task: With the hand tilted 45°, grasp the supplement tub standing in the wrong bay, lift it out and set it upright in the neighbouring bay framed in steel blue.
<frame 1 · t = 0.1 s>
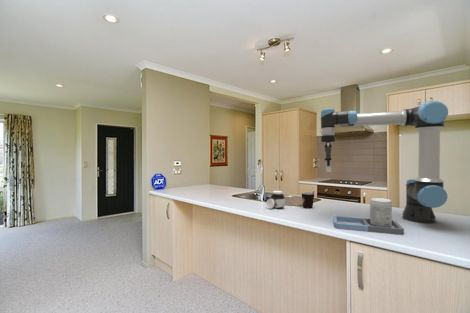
hand: (328, 171, 142), 28 cm above the worktop, tool pointing down, fingers open, 13 cm apart
bay frame: (365, 226, 125), on the worktop
supplement tub: (380, 228, 123), resting in bay frame
spread jar: (275, 208, 167), on the worktop
coffee mug: (307, 207, 170), on the worktop
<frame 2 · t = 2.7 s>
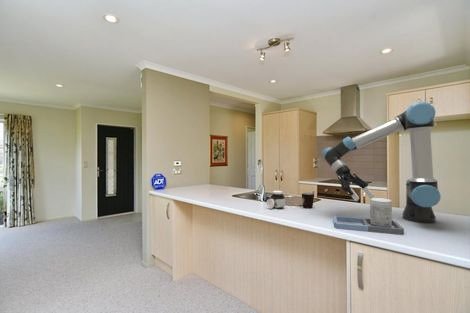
hand: (365, 198, 129), 14 cm above the worktop, tool tilted 45°, fingers open, 13 cm apart
nothing on the worktop moved.
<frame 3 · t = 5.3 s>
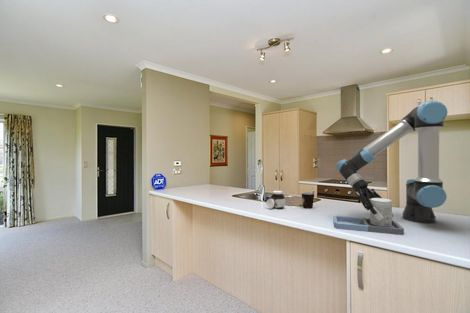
hand: (387, 217, 120), 6 cm above the worktop, tool tilted 45°, fingers closed on supplement tub, 9 cm apart
supplement tub: (380, 228, 123), resting in bay frame, touching gripper
everything else where it was.
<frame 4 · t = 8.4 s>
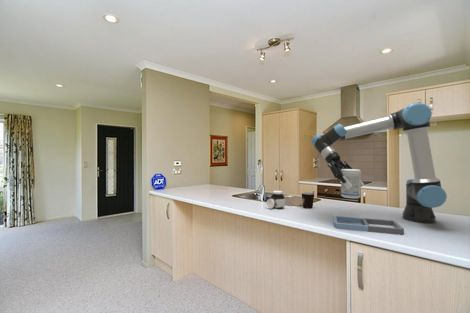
hand: (356, 186, 124), 21 cm above the worktop, tool tilted 45°, fingers closed on supplement tub, 9 cm apart
supplement tub: (350, 197, 127), point 15 cm above the worktop, touching gripper
everything else where it was.
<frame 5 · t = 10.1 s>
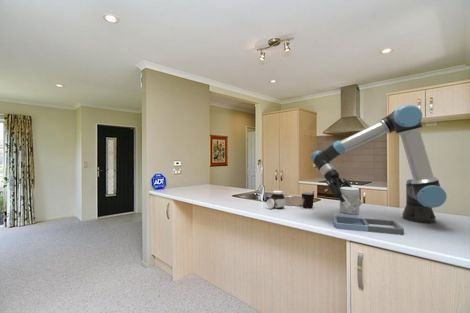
hand: (354, 205, 125), 11 cm above the worktop, tool tilted 45°, fingers closed on supplement tub, 9 cm apart
supplement tub: (349, 215, 128), point 5 cm above the worktop, touching gripper
everything else where it was.
when the fingers open (7 cm above the worktop, at t = 11.4 s): supplement tub drops 1 cm, resting in bay frame.
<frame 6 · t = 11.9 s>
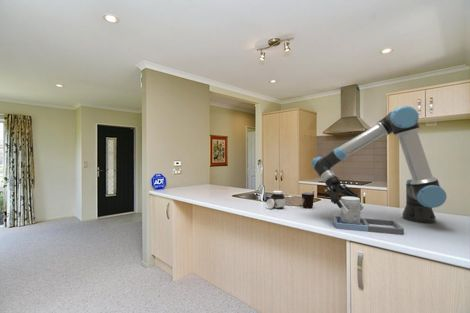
hand: (354, 210, 125), 8 cm above the worktop, tool tilted 45°, fingers open, 13 cm apart
supplement tub: (350, 225, 127), resting in bay frame
everything else where it was.
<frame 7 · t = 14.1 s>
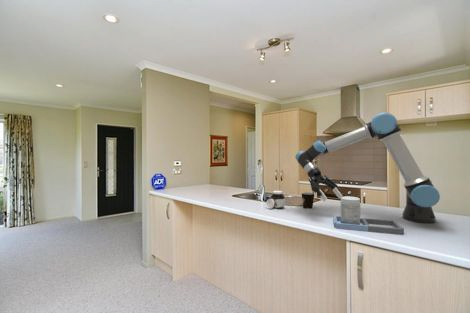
hand: (333, 198, 137), 12 cm above the worktop, tool tilted 45°, fingers open, 13 cm apart
nothing on the worktop moved.
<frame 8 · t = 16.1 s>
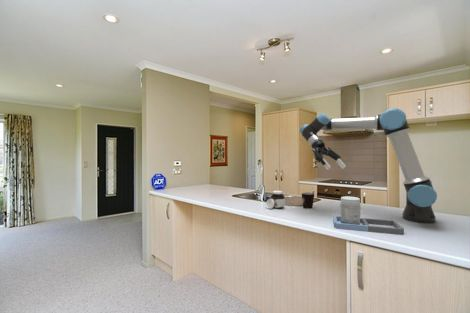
hand: (336, 168, 140), 30 cm above the worktop, tool tilted 45°, fingers open, 13 cm apart
nothing on the worktop moved.
at the end: supplement tub inside the target area on the bay frame (0.1 cm from its centre), point 0.0 cm above the bay frame's base; supplement tub tilted 0°; the gripper is holding nothing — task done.
